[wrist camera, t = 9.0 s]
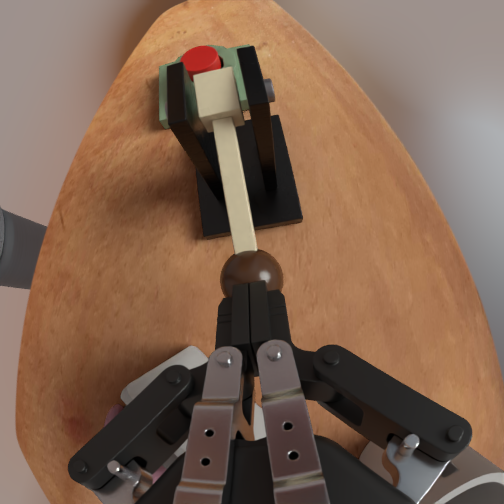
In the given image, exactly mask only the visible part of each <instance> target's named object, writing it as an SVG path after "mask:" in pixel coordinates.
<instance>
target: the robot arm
mask: <svg viewBox="0 0 504 504" xmlns="http://www.w3.org/2000/svg"><path fill="white" fill-rule="evenodd" d="M257 376H259V377H260V384H261V391H262V399H261V402H262V410H263V417H264V424H265V431H266V437H264V438H261V439H258V440H255V436H254V409H255V389H254V377H257ZM305 399H306V400H314V401H317V402H318V404H320V405H321V406H322V407H324V408H325V409H326V410H328V411H329V412H330V413H332V414H333V415H334V416H336V417H337V418H339V419H340V420H341V421H343V422H344V423H346V424H347V425H348V426H350V427H351V428H353V429H354V430H355V431H357V432H358V433H360V434H361V435H363V436H364V437H366V438H367V439H368V440H370V441H371V442H373V443H374V444H376V445H377V446H379V447H380V448H382V449H383V450H384V452H383V455H382V465H383V467H384V468H385V470H386V471H387V472H389V473H390V475H391V477H392V479H393V485H392V484H390V483H389V482H388V481H386V480H385V479H384V478H382V477H381V476H379V475H378V474H377V473H375V472H374V471H373V470H371V469H370V468H369V467H367V466H366V465H365V464H363V463H362V462H361V461H360V460H358V459H357V458H356V457H354V456H353V455H352V454H351V453H349V452H348V451H347V450H346V449H344V448H343V447H342V446H341V445H339V444H338V443H336V442H334V441H333V440H331V439H328V438H326V437H322V436H318V435H314V434H313V430H312V426H311V422H310V417H309V413H308V409H307V405H306V401H305ZM187 439H188V440H187ZM471 439H472V428H471V426H470V424H469V422H468V421H467V420H465V419H464V418H462V417H460V416H459V415H457V414H455V413H453V412H451V411H450V410H448V409H446V408H444V407H443V406H441V405H439V404H437V403H436V402H434V401H432V400H430V399H429V398H427V397H425V396H423V395H422V394H420V393H418V392H417V391H415V390H413V389H411V388H410V387H408V386H406V385H405V384H403V383H401V382H399V381H398V380H396V379H394V378H393V377H391V376H389V375H388V374H386V373H384V372H383V371H381V370H379V369H378V368H376V367H374V366H373V365H371V364H369V363H368V362H366V361H364V360H363V359H361V358H359V357H358V356H356V355H355V354H353V353H351V352H350V351H348V350H346V349H345V348H343V347H341V346H338V345H326V346H323V347H321V348H320V349H318V350H317V351H316V352H311V351H304V350H301V349H299V348H297V347H296V346H295V345H294V344H293V343H292V341H291V335H290V329H289V322H288V316H287V310H286V304H285V298H284V295H283V294H282V293H281V292H280V290H279V289H276V290H270V291H268V289H267V284H266V280H262V281H256V282H250V285H249V283H244V284H238V285H233V290H232V297H227V298H223V300H222V301H221V303H220V305H219V306H218V318H217V331H216V344H215V351H213V352H212V353H211V355H210V357H209V359H208V361H207V362H206V363H204V364H203V365H200V366H198V367H195V368H192V369H190V370H189V369H188V368H187V367H185V366H183V365H172V366H169V367H167V368H166V369H165V370H163V371H162V372H161V373H160V374H159V375H158V376H157V377H156V378H155V379H154V380H153V381H152V382H151V383H150V384H149V385H148V386H147V387H146V388H145V389H144V390H143V391H142V392H141V393H140V394H139V395H137V396H136V397H135V398H134V399H133V400H132V401H131V402H130V403H129V404H128V405H127V406H126V407H125V408H124V409H123V410H122V411H121V412H120V413H119V414H118V415H116V416H115V417H114V418H113V419H112V420H111V421H110V422H109V423H108V424H107V425H106V426H105V427H104V428H103V429H102V430H101V431H99V432H98V433H97V434H96V435H95V436H94V437H93V438H92V439H91V440H90V441H89V442H88V443H87V444H85V445H84V446H83V447H82V448H81V449H80V450H79V451H78V452H77V453H76V454H75V455H74V456H73V457H72V458H71V459H70V461H69V464H68V472H69V475H70V477H71V478H72V479H73V480H74V481H76V482H78V483H80V484H81V485H83V486H85V487H86V488H88V489H90V490H92V491H93V492H94V493H95V495H96V496H97V497H98V498H99V500H100V501H101V502H102V503H103V504H419V502H420V501H421V500H422V499H423V497H424V496H425V495H426V493H427V492H428V491H429V490H430V488H431V487H432V486H433V484H434V483H435V481H436V480H437V479H438V477H439V476H440V474H441V473H442V472H443V470H444V469H445V467H446V466H447V464H448V463H449V462H451V461H452V460H453V459H454V458H455V457H456V456H458V455H459V454H460V453H461V452H462V451H463V450H464V449H465V448H466V447H467V446H468V445H469V443H470V441H471ZM186 440H187V446H186V451H185V452H184V453H182V454H181V455H180V456H179V457H178V458H177V459H176V460H175V461H174V462H173V463H172V464H171V465H170V466H169V468H168V469H167V470H166V471H165V472H164V473H163V474H162V475H161V476H160V477H159V478H158V479H157V480H156V481H155V483H154V484H153V477H152V475H153V474H154V473H155V472H156V471H157V470H158V469H159V468H160V467H161V466H162V465H163V464H164V463H165V462H166V461H167V460H168V459H169V458H170V457H171V456H172V455H173V454H174V453H175V452H176V451H177V450H178V448H179V447H180V446H181V445H182V444H183V443H184V442H185V441H186Z"/></svg>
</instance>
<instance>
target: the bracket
mask: <svg viewBox="0 0 504 504" xmlns="http://www.w3.org/2000/svg"><path fill="white" fill-rule="evenodd" d="M236 51H237V55H238V60H239V64H240V69H241V73H242V78H243V83H244V87H245V92H246V97H247V102H248V106H249V111H250V116H251V120H246V121H245V125H242V126H237V127H235V129H236V134H237V140H238V145H239V150H240V156H241V161H242V166H243V172H244V177H245V183H246V188H247V193H248V199H249V204H250V210H251V215H252V221H253V226H254V231H256V230H261V229H266V228H272V227H277V226H283V225H288V224H294V223H300V222H302V220H303V216H302V211H301V206H300V202H299V197H298V193H297V188H296V184H295V180H294V175H293V171H292V167H291V163H290V158H289V154H288V150H287V146H286V142H285V138H284V134H283V130H282V126H281V122H280V118H279V115H273V116H271V114H270V104H269V103H270V102H274V101H275V94H274V89H273V84H272V81H271V79H270V78H269V79H263V76H262V73H261V69H260V65H259V62H258V58H257V54H256V51H255V47H254V46H248V47H242V48H237V49H236ZM165 113H166V117H167V119H168V125H169V127H170V128H171V130H172V132H173V133H174V135H175V136H176V138H177V139H178V141H179V142H180V144H181V145H182V147H183V148H184V150H185V151H186V153H187V154H188V156H189V158H190V159H191V161H192V162H193V164H194V165H195V167H196V177H197V186H198V195H199V203H200V212H201V220H202V228H203V235H204V237H205V238H206V239H213V238H218V237H224V236H229V235H231V230H230V224H229V219H228V213H227V207H226V201H225V196H224V190H223V184H222V178H221V173H220V167H219V161H218V155H217V149H216V143H215V137H214V132H208V131H207V130H206V128H205V127H204V125H203V123H202V122H201V120H200V118H199V116H198V109H197V102H196V95H195V88H194V86H193V83H192V81H191V79H190V77H189V74H188V72H187V70H186V67H185V65H184V63H183V62H179V63H175V64H172V65H169V66H167V102H165Z"/></svg>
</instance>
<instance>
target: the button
mask: <svg viewBox="0 0 504 504" xmlns="http://www.w3.org/2000/svg"><path fill="white" fill-rule="evenodd" d="M180 62H183V63H184V65H185V67H186V70H187V72H188V74H189V77H190V79H191V81H192V82H194V81H193V75H196V74H200V73H204V72H208V71H213V70H217V69H221V62H220V59H219V56H218V52H217V51H216V49H214V48H213V47H210V46H198V47H195V48H192V49H190V50H188V51H187V52H186V53H185V54H184V55H183V56H182V57H181V60H180Z"/></svg>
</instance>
